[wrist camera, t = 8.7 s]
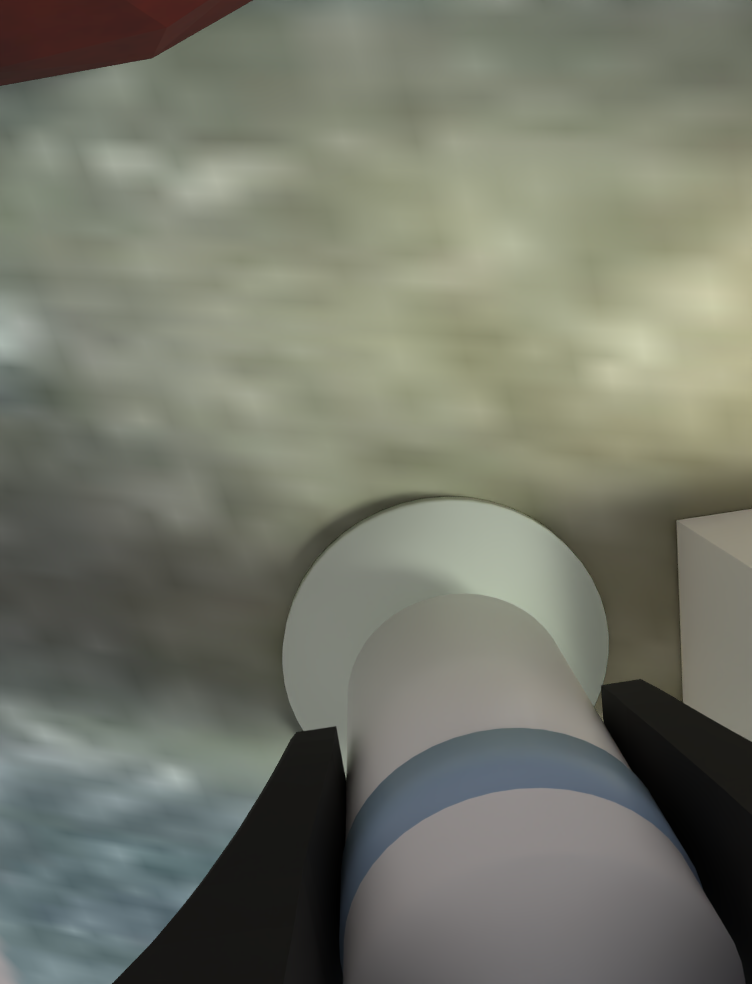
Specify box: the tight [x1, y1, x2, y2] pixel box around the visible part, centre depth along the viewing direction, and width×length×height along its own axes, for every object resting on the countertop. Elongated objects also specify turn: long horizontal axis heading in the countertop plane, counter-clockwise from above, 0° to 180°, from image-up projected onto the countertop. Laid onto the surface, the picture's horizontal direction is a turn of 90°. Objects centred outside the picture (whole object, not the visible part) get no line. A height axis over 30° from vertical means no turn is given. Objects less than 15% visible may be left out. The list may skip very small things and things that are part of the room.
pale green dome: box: [282, 497, 609, 773], centre depth 14 cm, size 6×6×1 cm
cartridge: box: [339, 593, 746, 984], centre depth 10 cm, size 4×4×6 cm
